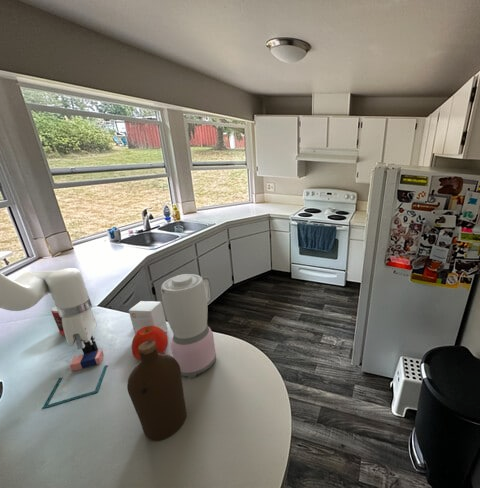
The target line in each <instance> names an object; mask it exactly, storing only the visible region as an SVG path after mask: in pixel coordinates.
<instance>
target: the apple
mask: <svg viewBox="0 0 480 488" xmlns="http://www.w3.org/2000/svg"><path fill="white" fill-rule="evenodd" d="M146 341H154V342H155V344H156V346H157V350H158V353H159V354H165V352H166V350H167V349H168V344H169V337H168V334H167V331H166V332H165V331H163V330H162V329H161V328H159V327H156V326H153V325H152V326H146V327H143V328H141V329H140V330H138V331H137V333H136V334H135V333H134V336H133V338H132V342H131V353H132V356H133V358H134V359H135V360H137V361H139V362H140V361H141V358H140V355H139V349H138V348H139V346H140V345H141V344H142V343H144V342H146Z"/></svg>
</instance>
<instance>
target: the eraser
mask: <svg viewBox="0 0 480 488" xmlns="http://www.w3.org/2000/svg"><path fill="white" fill-rule="evenodd" d="M104 356H105V355H104V352H103V349H98V351H94V352H90V353H86V354H84V353H83V354H80V355H79V354H78V355H76V356H73V358H72V360H71V362H70V363H69V367H70V370H71V371H72V372H75V371H78V370H83V369H87V368H91V367H94V366H98V365H101V363H102V361H103V358H104Z"/></svg>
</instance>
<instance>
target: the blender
mask: <svg viewBox="0 0 480 488" xmlns="http://www.w3.org/2000/svg"><path fill="white" fill-rule="evenodd" d="M160 293H161V299H162V306H163V311H164V315H165V319H166V321H167V322H168V325H169V327H170V329H171V331H172V334H173V335H172V338H171V342H170V351H171V355H172V357H173V358H174V359H175V360H176V361H177V362H178V364H179V366H180V370H181V376H185V377H187V379H194V378H196V375H198V374H201V373H203V372H205V371H206V370H208V369H209V368H211V367H212V366H213V364H214V363H215V361H217V353H216V346H215V345H216V344H215V337H214V333H213V330H212V329H211V327H210V326H209V325H208V314H209V313H208V309H209V308H208V304H209V303H210V302H211V300H212V287H211V281H210V278H209V277H208V276H205V275H203V276H201V275H198V274H195V273H181V274H177V275H175V276H172V277H170V278H168V279H166V280H165V281H164V282H163V283H162V284H161V286H160Z"/></svg>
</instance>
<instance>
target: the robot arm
mask: <svg viewBox="0 0 480 488" xmlns="http://www.w3.org/2000/svg"><path fill="white" fill-rule="evenodd" d="M48 294H50V295H51V298H52V301H53V303H54V305H56V308H57V311H58V313H59V316H60V317H61V318H62V325H63V330H64V333H65V335H64V336H65V340H66V343H67V346H69V347H73V346H74V345H75V343H76V346H77V350H81V351H82V353H83V354H86V353H90V352H94V351H99V348H98V345H97V342H96V340H95V339H96V337H95V335H94V333H95V330H96V328H97V321H96V317H95V315H94V312H93V310H92V308H93V304H92V301H91V299H90V296H89V292H88V290H87V287H86V284H85V281H84V277H83V275H82V272H81V271H80V270H79V269H78V268H74V267H73V268H72V267H70V268H62V269H58V270H33V271H28V272H24V273H23V274H21V275H20V276H18V277H17V278H16V279H14V280H13V279H11V278H9V277H7V276H6V275H5V274H4V273H2V272H0V309H1V310H5V311H11V312H21V311H26V310H29V309H31V308H32V307H35V306H36V305H37V304H38V303H39V302H40V301H41V300H42V299H43V298H44V297H45V296H47V295H48Z"/></svg>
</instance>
